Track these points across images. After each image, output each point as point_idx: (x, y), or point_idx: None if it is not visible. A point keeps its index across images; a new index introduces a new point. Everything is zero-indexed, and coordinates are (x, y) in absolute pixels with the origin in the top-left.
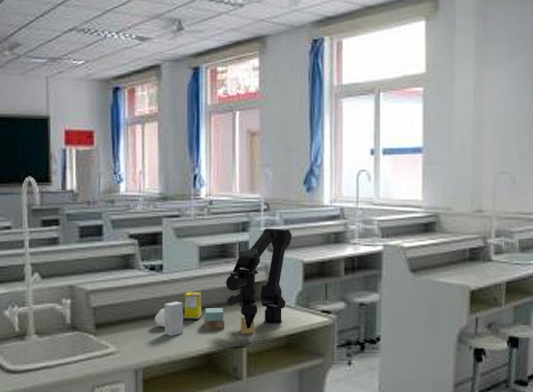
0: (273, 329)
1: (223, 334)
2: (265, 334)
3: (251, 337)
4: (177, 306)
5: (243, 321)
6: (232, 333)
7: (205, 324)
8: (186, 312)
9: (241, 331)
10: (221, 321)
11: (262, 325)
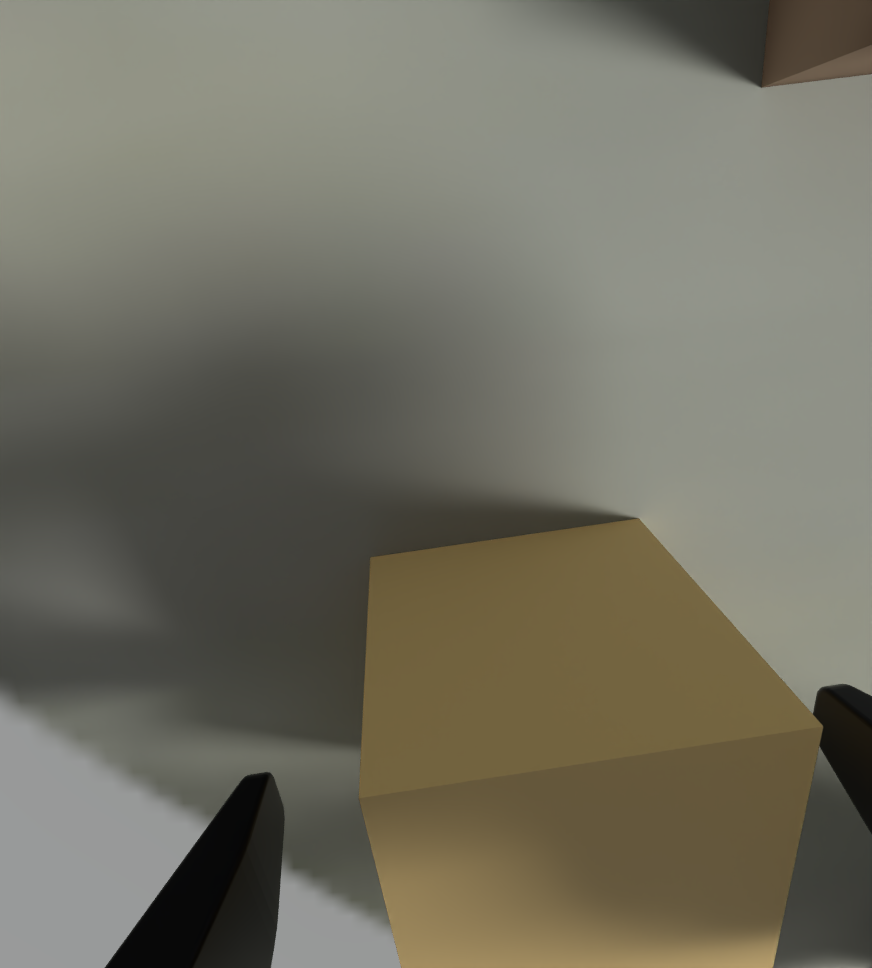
0: None
1: (197, 110)
2: (336, 891)
3: (113, 745)
4: None
5: (367, 828)
6: (329, 366)
7: None
8: None
9: (369, 578)
10: None
11: (836, 811)
